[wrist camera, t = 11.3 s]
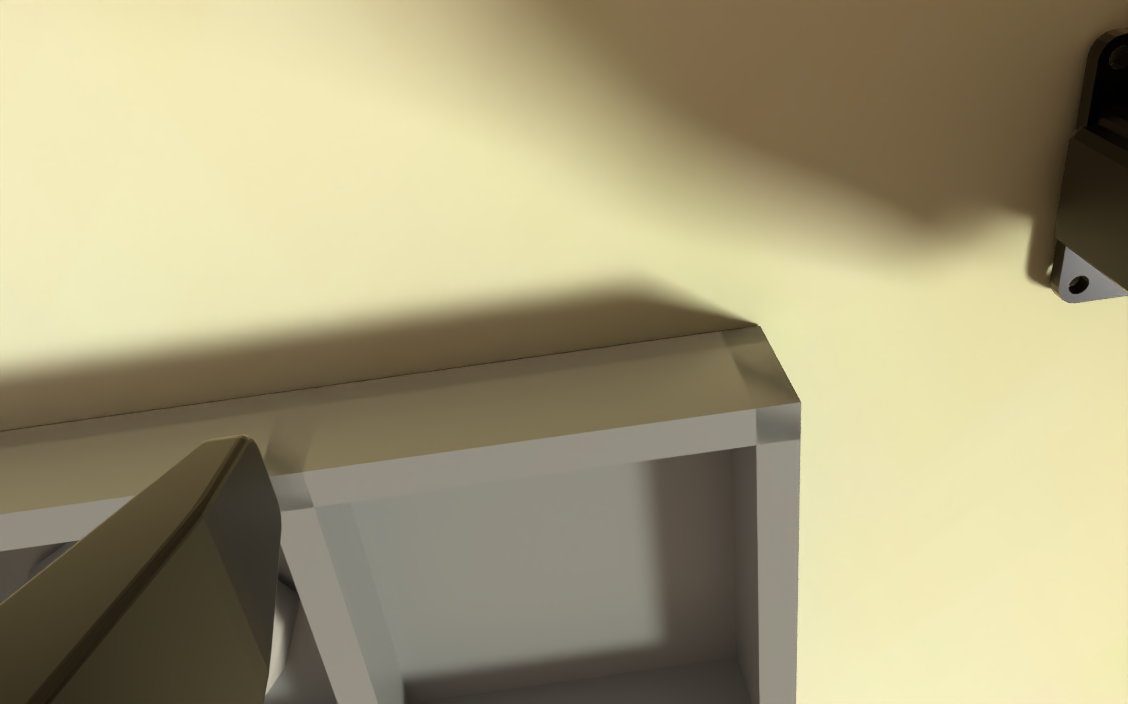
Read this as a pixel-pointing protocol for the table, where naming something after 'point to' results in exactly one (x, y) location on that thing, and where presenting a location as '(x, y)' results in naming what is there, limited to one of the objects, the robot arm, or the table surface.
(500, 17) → the table surface
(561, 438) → the grey compartment tray
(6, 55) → the table surface
